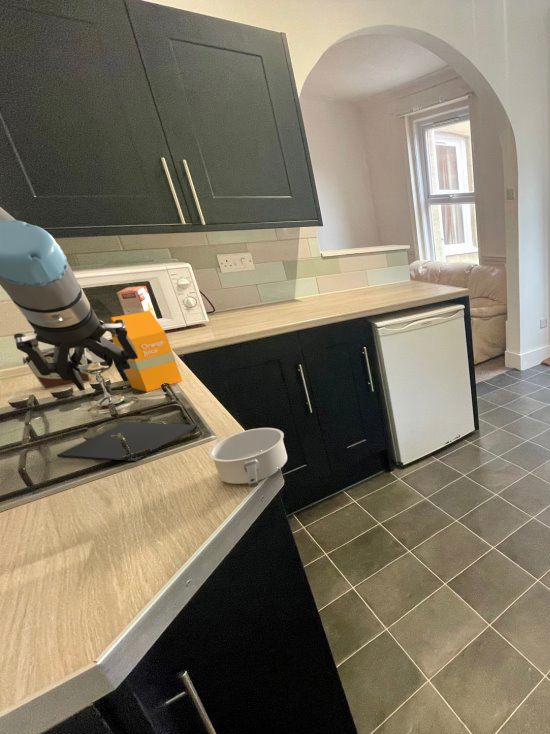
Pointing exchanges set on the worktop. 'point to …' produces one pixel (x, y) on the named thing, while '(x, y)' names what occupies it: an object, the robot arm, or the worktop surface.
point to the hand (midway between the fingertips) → (102, 379)
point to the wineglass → (93, 368)
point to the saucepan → (249, 455)
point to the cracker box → (135, 300)
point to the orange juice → (148, 352)
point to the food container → (53, 378)
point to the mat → (127, 440)
